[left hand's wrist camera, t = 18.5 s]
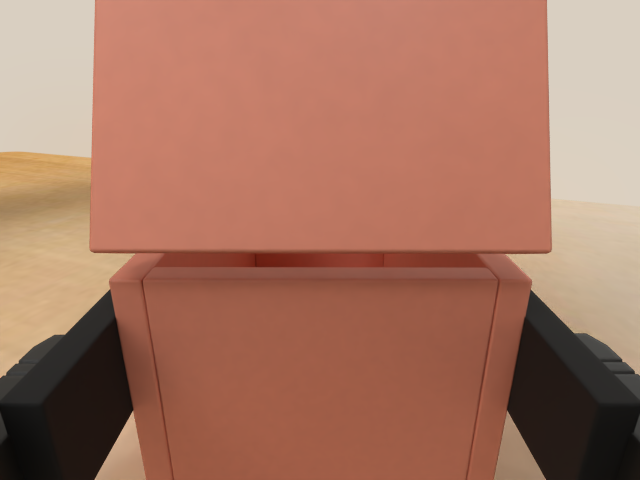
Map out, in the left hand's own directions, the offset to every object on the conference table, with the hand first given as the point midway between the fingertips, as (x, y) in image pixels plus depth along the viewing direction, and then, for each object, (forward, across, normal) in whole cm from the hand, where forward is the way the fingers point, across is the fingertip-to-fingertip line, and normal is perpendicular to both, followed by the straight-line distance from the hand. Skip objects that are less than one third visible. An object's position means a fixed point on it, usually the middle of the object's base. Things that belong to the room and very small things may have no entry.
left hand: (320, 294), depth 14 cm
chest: (+5, 0, -7) cm, 8 cm away
